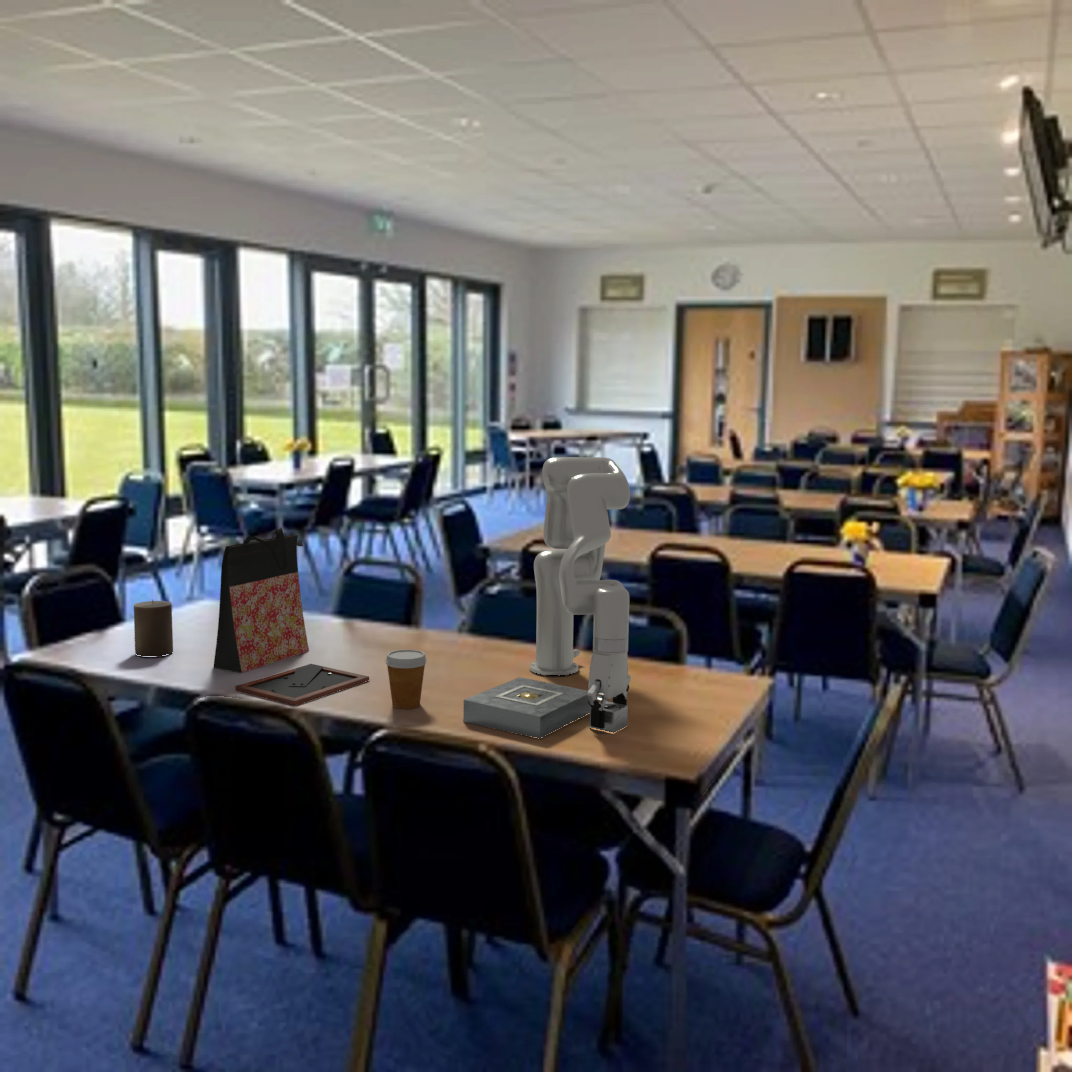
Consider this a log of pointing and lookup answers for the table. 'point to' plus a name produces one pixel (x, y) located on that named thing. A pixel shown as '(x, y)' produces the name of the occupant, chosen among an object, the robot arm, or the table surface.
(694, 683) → the table surface
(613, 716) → the block
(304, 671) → the picture frame
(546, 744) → the table surface
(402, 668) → the disposable coffee cup
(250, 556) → the gift bag
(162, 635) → the pillar candle
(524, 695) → the brass pin
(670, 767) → the table surface
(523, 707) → the block
